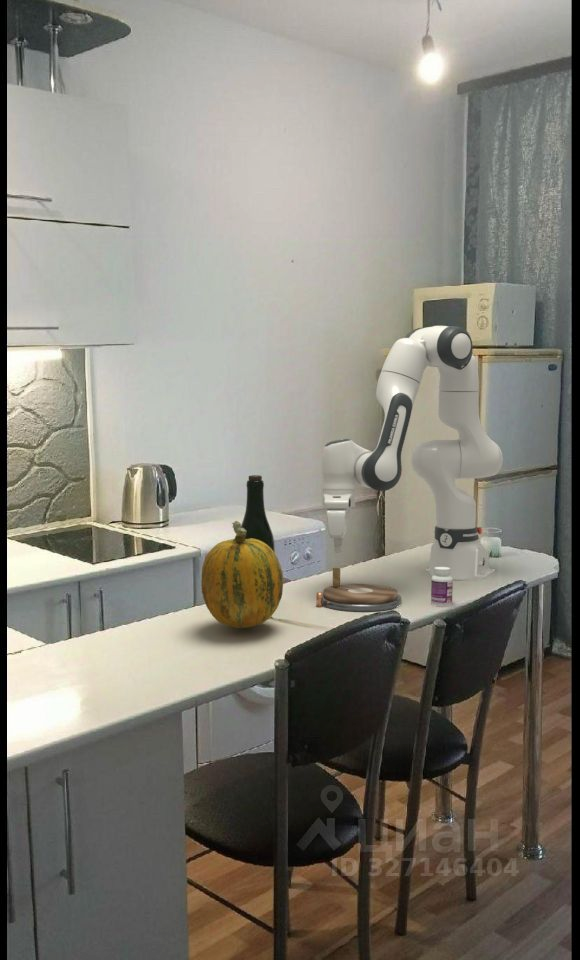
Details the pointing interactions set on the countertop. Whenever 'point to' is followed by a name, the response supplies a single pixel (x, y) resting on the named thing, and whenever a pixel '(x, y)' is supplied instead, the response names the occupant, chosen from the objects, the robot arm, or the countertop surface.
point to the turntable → (358, 592)
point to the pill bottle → (441, 587)
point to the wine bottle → (257, 513)
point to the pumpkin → (241, 581)
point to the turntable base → (356, 608)
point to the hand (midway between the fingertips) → (338, 552)
